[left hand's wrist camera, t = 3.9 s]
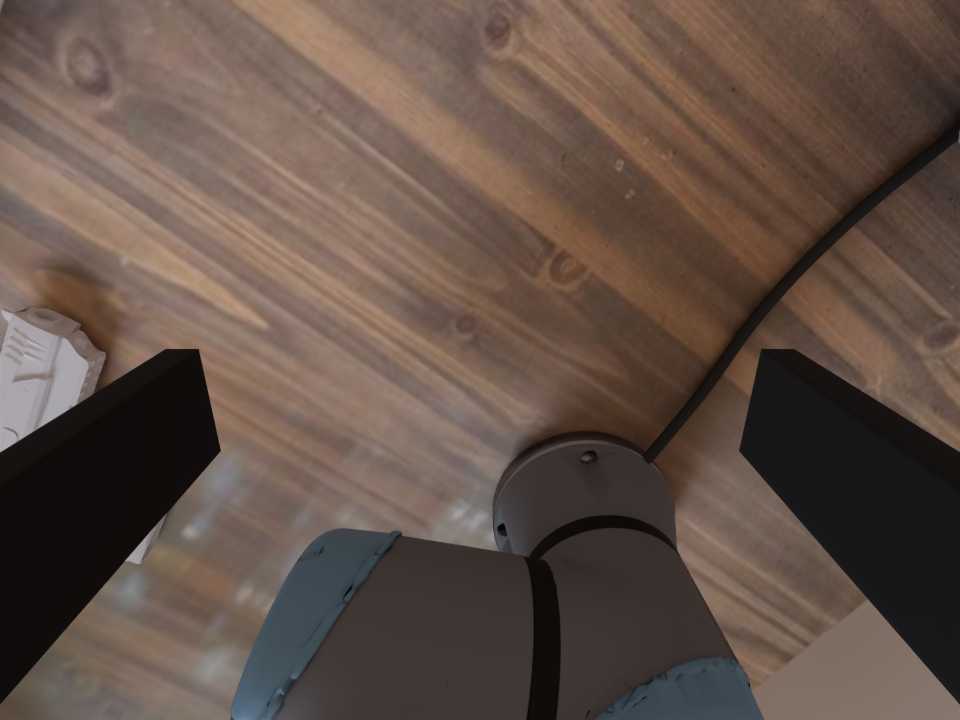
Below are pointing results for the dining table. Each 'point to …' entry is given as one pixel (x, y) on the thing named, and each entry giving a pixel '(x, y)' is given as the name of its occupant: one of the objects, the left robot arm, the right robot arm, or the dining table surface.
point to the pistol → (48, 379)
